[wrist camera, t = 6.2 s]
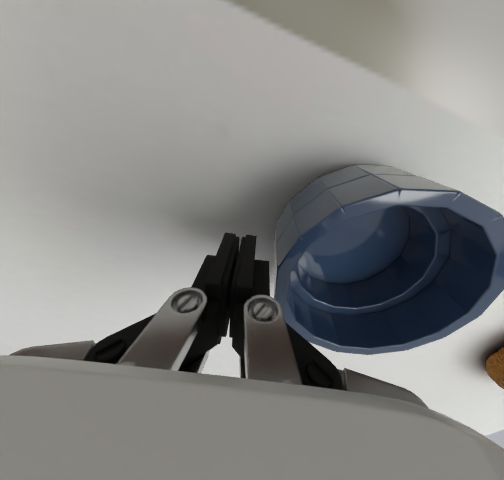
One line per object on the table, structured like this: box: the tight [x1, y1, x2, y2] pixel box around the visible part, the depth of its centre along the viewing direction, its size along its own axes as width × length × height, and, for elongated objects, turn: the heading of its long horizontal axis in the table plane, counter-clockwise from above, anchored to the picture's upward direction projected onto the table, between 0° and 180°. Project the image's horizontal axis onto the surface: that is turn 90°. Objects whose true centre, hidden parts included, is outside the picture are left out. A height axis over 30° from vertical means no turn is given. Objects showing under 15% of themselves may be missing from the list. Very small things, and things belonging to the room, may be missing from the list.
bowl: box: [274, 165, 504, 355], centre depth 11 cm, size 9×9×5 cm
